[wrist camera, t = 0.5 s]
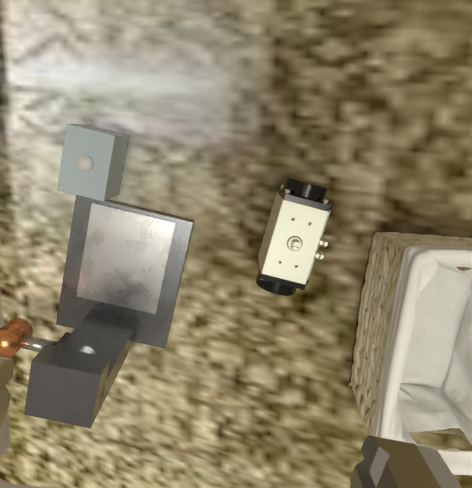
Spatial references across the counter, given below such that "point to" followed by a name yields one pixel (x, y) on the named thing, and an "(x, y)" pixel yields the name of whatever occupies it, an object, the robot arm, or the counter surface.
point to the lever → (20, 338)
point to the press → (107, 304)
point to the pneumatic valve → (293, 236)
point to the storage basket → (416, 341)
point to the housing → (92, 162)
